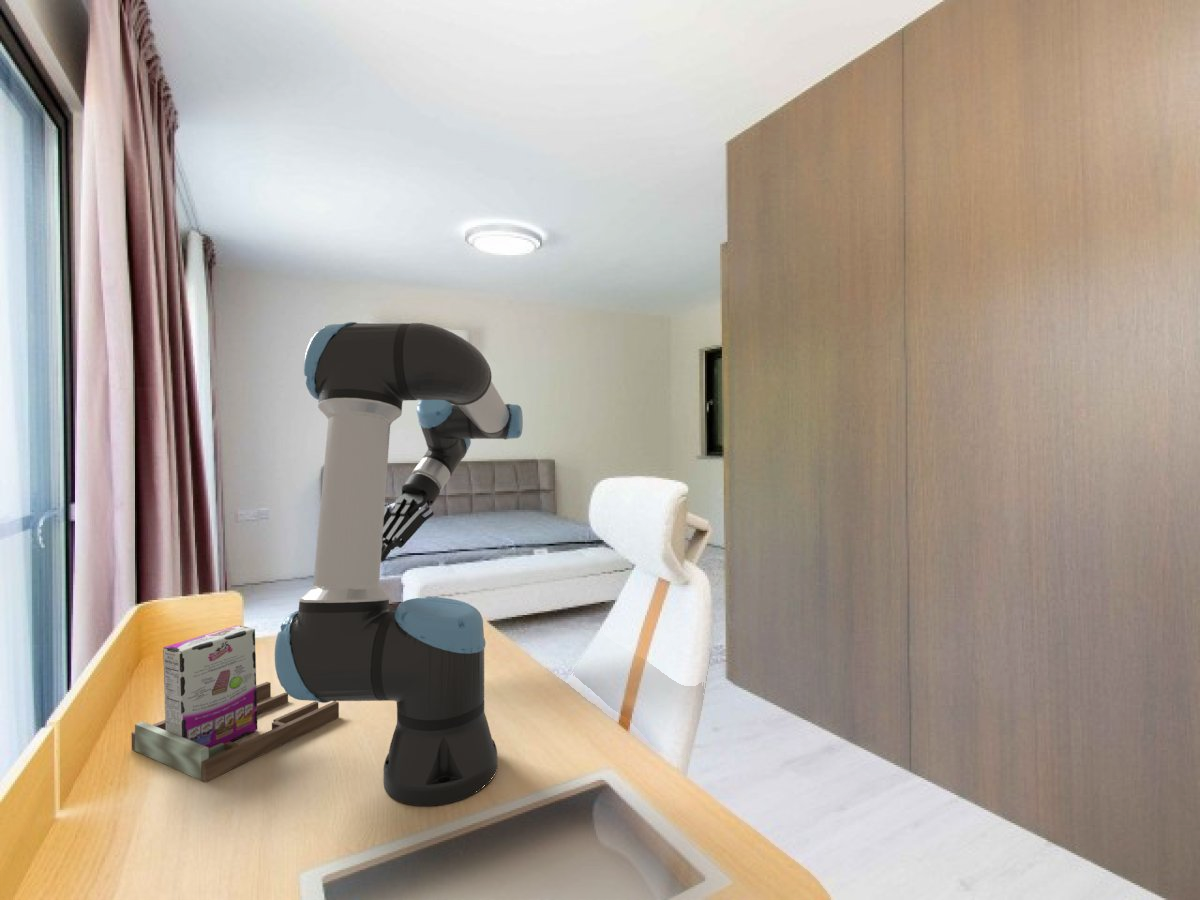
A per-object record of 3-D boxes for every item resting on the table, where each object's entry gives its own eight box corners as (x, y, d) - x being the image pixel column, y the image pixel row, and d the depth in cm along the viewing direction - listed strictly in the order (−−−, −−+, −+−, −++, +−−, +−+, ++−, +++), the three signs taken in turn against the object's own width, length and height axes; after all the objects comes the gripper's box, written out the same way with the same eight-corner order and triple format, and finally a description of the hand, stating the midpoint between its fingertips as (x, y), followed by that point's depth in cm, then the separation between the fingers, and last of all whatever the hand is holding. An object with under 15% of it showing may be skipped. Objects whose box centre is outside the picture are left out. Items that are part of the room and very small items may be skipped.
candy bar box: (238, 724, 95) (237, 624, 94) (258, 730, 92) (257, 627, 92) (162, 757, 84) (161, 645, 84) (183, 765, 82) (182, 650, 82)
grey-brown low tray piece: (338, 717, 97) (338, 693, 97) (205, 782, 78) (205, 752, 78) (267, 695, 105) (267, 673, 105) (131, 749, 87) (131, 722, 87)
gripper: (456, 495, 128) (399, 587, 113) (412, 493, 134) (352, 580, 119) (440, 472, 123) (378, 564, 108) (394, 471, 129) (330, 559, 114)
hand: (364, 572), depth 113 cm, fingers closed
